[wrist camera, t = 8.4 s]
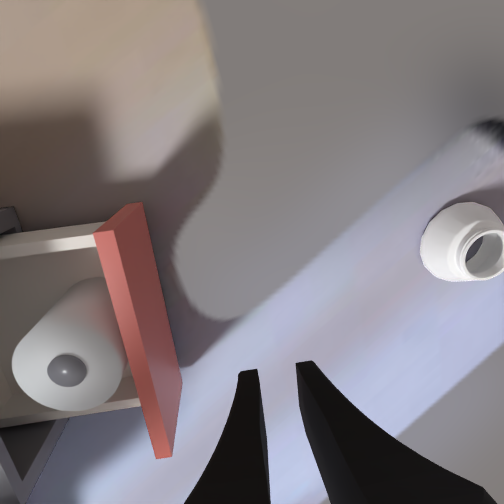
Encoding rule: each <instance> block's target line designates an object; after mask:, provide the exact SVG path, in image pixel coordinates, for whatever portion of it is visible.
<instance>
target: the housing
mask: <svg viewBox="0 0 504 504" xmlns="http://www.w3.org/2000/svg"><path fill="white" fill-rule="evenodd" d="M21 232H22V229H21V226H20V223H19V220H18V218H17V215H16V212H15V209H14V207H6V208H0V235H6V234H14V233H21ZM69 418H70V417H68V418H62V419H55V420H49V421H42V422H36V423H29V424H23V425H16V426H10V427H3V428H0V504H26V502H27V500H28V498H29V496H30V494H31V492H32V490H33V488H34V486H35V484H36V482H37V480H38V478H39V476H40V474H41V472H42V470H43V468H44V466H45V464H46V463H47V461H48V459H49V457H50V455H51V453H52V451H53V449H54V447H55V445H56V443H57V441H58V439H59V437H60V435H61V433H62V431H63V429H64V427H65V425H66V423H67V421H68V420H69Z"/></svg>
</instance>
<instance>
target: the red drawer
mask: <svg viewBox="0 0 504 504" xmlns="http://www.w3.org/2000/svg"><path fill="white" fill-rule="evenodd" d="M93 277H104V278H105V279H106V283H107V286H108V290H109V293H110V297H111V300H112V304H113V307H114V311H115V315H116V318H117V322H118V325H119V329H120V332H121V336H122V340H123V343H124V347H125V350H126V354H127V357H128V363H127V366H126V368H125V371H124V373H123V376H122V378H121V381H120V384H119V386H118V388H117V390H116V391H115V393H114V394H113V395H112V396H111V397H110V398H109V399H108V400H107V401H105V402H104V403H102V404H100V405H99V406H96V407H94V408H91V409H87V410H82V411H62V410H57V409H53V408H50V407H47V406H44V405H42V404H40V403H38V402H37V401H35V400H33V399H32V398H31V397H29V396H28V395H27V394H26V393H25V392H24V391H23V390H22V389H21V387H20V386H19V385H18V383H17V381H16V379H15V377H14V374H13V370H12V357H13V354H14V351H15V349H16V347H17V345H18V344H19V342H20V341H21V340H22V339H23V338H24V337H25V336H26V335H27V334H28V333H29V331H30V330H31V329H32V328H33V327H34V326H35V325H36V324H37V323H38V322H39V321H40V320H41V319H42V317H43V316H44V315H45V314H46V313H47V312H48V311H49V310H50V309H51V308H52V307H53V306H54V305H55V303H56V302H57V301H58V300H59V299H60V298H61V297H62V296H63V295H64V294H65V293H66V292H67V291H68V289H69V288H70V287H72V286H73V285H74V284H76V283H77V282H79V281H81V280H84V279H88V278H93ZM181 389H182V378H181V374H180V369H179V365H178V360H177V356H176V351H175V347H174V342H173V338H172V333H171V329H170V324H169V320H168V315H167V311H166V306H165V302H164V297H163V293H162V288H161V284H160V280H159V275H158V271H157V266H156V262H155V257H154V253H153V248H152V244H151V239H150V235H149V230H148V226H147V221H146V217H145V212H144V208H143V203H142V202H137V203H130V204H126V205H125V206H124V207H123V208H122V209H120V210H119V211H118V212H117V213H116V214H115V215H113V216H112V217H111V218H110V219H109V220H107V221H106V222H98V223H90V224H83V225H75V226H67V227H60V228H52V229H44V230H37V231H29V232H21V233H14V234H6V235H0V428H3V427H10V426H16V425H23V424H29V423H36V422H42V421H49V420H55V419H62V418H68V417H74V416H81V415H87V414H94V413H100V412H107V411H113V410H120V409H126V408H133V407H139V406H141V407H142V411H143V414H144V418H145V421H146V425H147V429H148V432H149V436H150V439H151V443H152V446H153V450H154V453H155V457H156V459H161V458H167V457H172V453H173V446H174V439H175V432H176V425H177V417H178V410H179V403H180V396H181Z"/></svg>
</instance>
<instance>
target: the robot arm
mask: <svg viewBox="0 0 504 504" xmlns="http://www.w3.org/2000/svg"><path fill="white" fill-rule="evenodd" d="M296 373H297V385H298V397H299V407H300V411H301V415H302V420H303V424H304V428H305V432H306V435H307V438H308V441H309V443H310V446H311V449H312V452H313V455H314V457H315V460H316V463H317V466H318V469H319V471H320V474H321V477H322V480H323V482H324V485H325V488H326V491H327V493H328V497H329V500H330V503H331V504H497V503H496V502H495V501H494V499H493V498H492V497H491V496H490V495H489V494H488V493H487V492H486V490H485V489H484V488H483V487H481V486H479V485H477V484H475V483H473V482H471V481H469V480H467V479H465V478H462V477H460V476H458V475H456V474H454V473H452V472H450V471H448V470H446V469H444V468H442V467H441V466H439V465H437V464H435V463H433V462H431V461H430V460H428V459H426V458H424V457H423V456H421V455H419V454H418V453H416V452H415V451H413V450H412V449H410V448H409V447H407V446H405V445H404V444H402V443H401V442H399V441H398V440H396V439H395V438H394V437H392V436H391V435H389V434H388V433H387V432H385V431H384V430H383V429H381V428H380V427H379V426H378V425H376V424H375V423H374V422H373V421H371V420H370V419H369V418H368V417H367V416H365V415H364V414H363V413H362V412H361V411H360V410H359V409H358V408H356V407H355V406H354V405H353V404H352V403H351V402H350V401H349V400H348V399H347V398H346V397H345V396H344V395H343V394H342V393H341V392H340V391H339V390H338V389H337V388H336V387H335V386H334V385H333V384H332V383H331V381H330V380H329V379H328V378H327V377H326V376H325V375H324V374H323V372H322V371H321V370H320V369H319V368H318V366H317V365H316V364H315V363H314V362H313V361H305V362H299V363H296ZM184 504H271V501H270V484H269V466H268V449H267V436H266V428H265V421H264V413H263V405H262V398H261V390H260V382H259V376H258V370H257V369H253V370H246V371H241V372H240V373H239V374H238V383H237V389H236V393H235V397H234V401H233V404H232V407H231V410H230V414H229V417H228V419H227V422H226V425H225V427H224V430H223V432H222V435H221V437H220V440H219V442H218V444H217V446H216V449H215V451H214V453H213V455H212V457H211V459H210V461H209V463H208V465H207V466H206V468H205V470H204V472H203V474H202V476H201V477H200V479H199V481H198V482H197V484H196V486H195V487H194V489H193V490H192V492H191V493H190V495H189V497H188V498H187V500H186V501H185V503H184Z"/></svg>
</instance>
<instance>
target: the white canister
mask: <svg viewBox="0 0 504 504" xmlns="http://www.w3.org/2000/svg"><path fill="white" fill-rule="evenodd" d="M127 363H128V357H127V354H126V350H125V347H124V343H123V340H122V336H121V332H120V329H119V325H118V322H117V318H116V315H115V311H114V307H113V304H112V300H111V297H110V293H109V290H108V286H107V283H106V279H105V278H104V277H93V278H88V279H84V280H81V281H79V282H77V283H76V284H74V285H73V286H72V287H70V288H69V289H68V291H67V292H66V293H65V294H64V295H63V296H62V297H61V298H60V299H59V300H58V301H57V302H56V303H55V305H54V306H53V307H52V308H51V309H50V310H49V311H48V312H47V313H46V314H45V315H44V316H43V317H42V319H41V320H40V321H39V322H38V323H37V324H36V325H35V326H34V327H33V328H32V329H31V330H30V331H29V333H28V334H27V335H26V336H25V337H24V338H23V339H22V340H21V341H20V342H19V344H18V345H17V347H16V349H15V351H14V354H13V357H12V370H13V374H14V377H15V379H16V381H17V383H18V385H19V386H20V387H21V389H22V390H23V391H24V392H25V393H26V394H27V395H28V396H29V397H31V398H32V399H33V400H35V401H37V402H38V403H40V404H42V405H44V406H47V407H50V408H53V409H57V410H62V411H82V410H87V409H91V408H94V407H96V406H99V405H100V404H102V403H104V402H105V401H107V400H108V399H109V398H110V397H111V396H112V395H113V394H114V393H115V391H116V390H117V388H118V386H119V384H120V381H121V378H122V376H123V373H124V371H125V368H126V366H127Z"/></svg>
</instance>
